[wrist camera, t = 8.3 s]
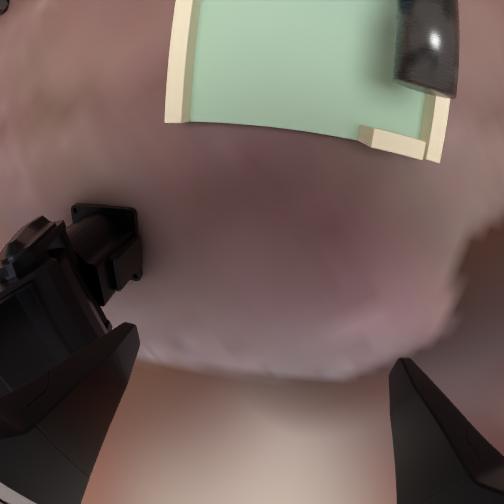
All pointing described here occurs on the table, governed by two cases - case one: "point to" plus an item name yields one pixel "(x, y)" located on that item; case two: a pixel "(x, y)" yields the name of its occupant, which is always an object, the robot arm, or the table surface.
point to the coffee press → (3, 5)
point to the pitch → (300, 72)
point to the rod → (427, 46)
